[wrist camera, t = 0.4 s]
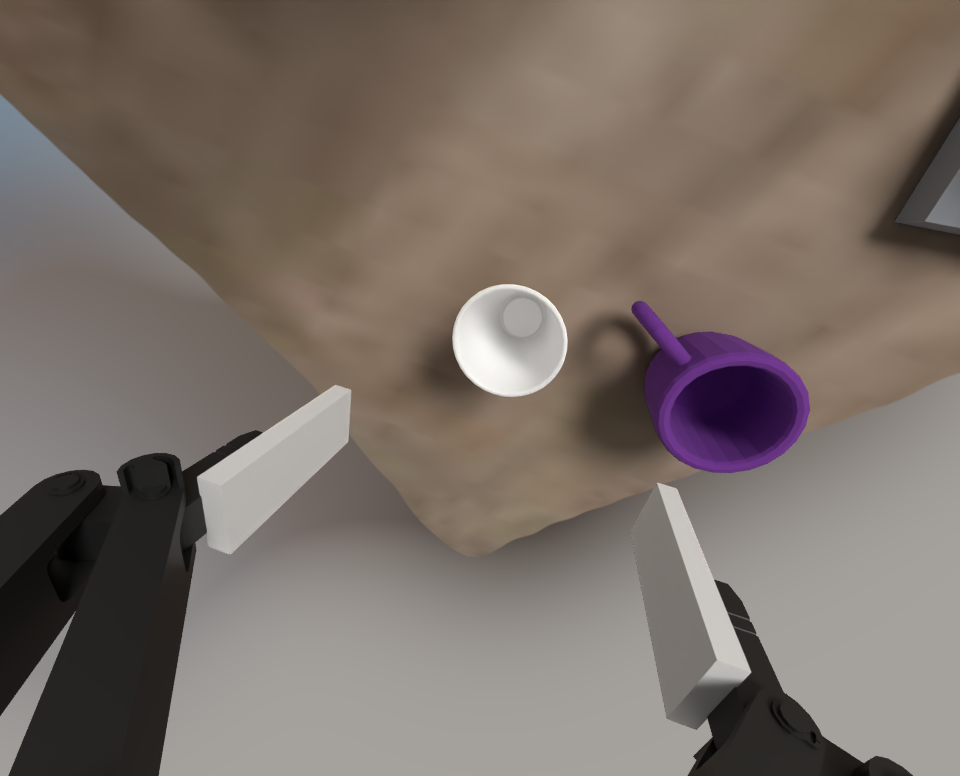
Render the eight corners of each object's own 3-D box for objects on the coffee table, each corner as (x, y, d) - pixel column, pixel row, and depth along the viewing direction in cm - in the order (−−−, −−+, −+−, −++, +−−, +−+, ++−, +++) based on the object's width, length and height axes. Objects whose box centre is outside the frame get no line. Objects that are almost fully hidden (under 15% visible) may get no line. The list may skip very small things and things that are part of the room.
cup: (587, 324, 40) (592, 354, 30) (516, 374, 44) (500, 416, 34) (530, 250, 38) (515, 257, 28) (462, 310, 42) (429, 334, 33)
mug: (779, 383, 38) (843, 431, 29) (677, 440, 43) (705, 496, 34) (678, 253, 36) (714, 261, 27) (581, 329, 40) (585, 358, 31)
